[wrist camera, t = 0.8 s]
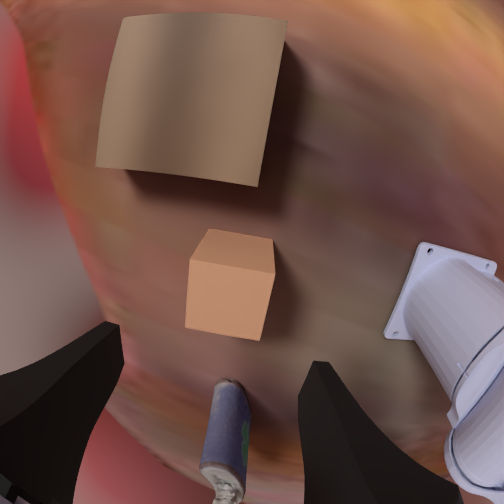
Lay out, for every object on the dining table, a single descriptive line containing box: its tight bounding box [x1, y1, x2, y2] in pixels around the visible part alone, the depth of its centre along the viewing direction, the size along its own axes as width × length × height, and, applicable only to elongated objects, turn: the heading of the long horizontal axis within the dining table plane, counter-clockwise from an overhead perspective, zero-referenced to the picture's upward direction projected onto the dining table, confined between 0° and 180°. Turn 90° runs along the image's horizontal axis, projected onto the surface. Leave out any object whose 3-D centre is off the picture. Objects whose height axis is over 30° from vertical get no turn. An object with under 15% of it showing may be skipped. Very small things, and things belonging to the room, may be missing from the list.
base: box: [96, 13, 288, 187], centre depth 13 cm, size 9×9×3 cm
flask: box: [199, 378, 252, 504], centre depth 19 cm, size 9×3×11 cm, turn 4°
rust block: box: [185, 229, 275, 341], centre depth 16 cm, size 4×4×5 cm
